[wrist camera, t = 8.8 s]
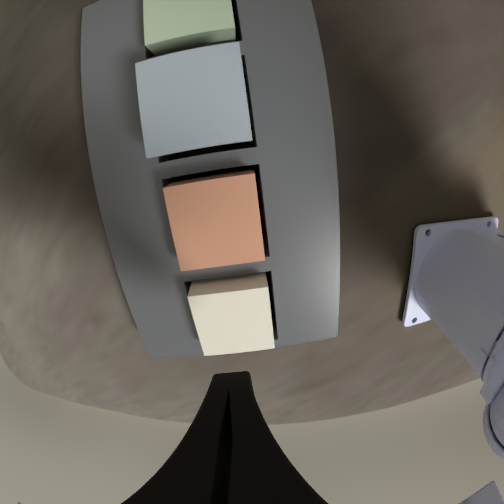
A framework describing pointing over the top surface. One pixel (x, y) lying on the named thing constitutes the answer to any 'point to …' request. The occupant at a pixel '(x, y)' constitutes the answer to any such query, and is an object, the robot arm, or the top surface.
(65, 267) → the top surface
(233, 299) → the key ivory
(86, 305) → the top surface
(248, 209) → the key terracotta
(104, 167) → the grey slotted tray
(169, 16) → the key sage
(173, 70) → the key slate
